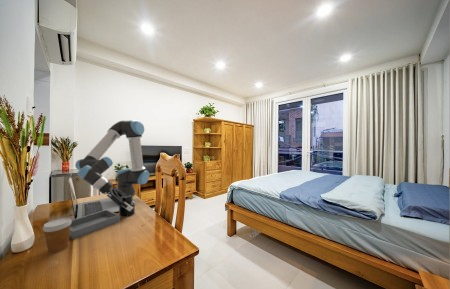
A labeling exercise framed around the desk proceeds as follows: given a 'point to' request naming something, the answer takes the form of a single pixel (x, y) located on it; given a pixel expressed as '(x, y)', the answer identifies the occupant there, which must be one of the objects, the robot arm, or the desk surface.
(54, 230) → the disposable coffee cup
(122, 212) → the ink bottle
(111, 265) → the desk surface
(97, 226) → the charcoal bin
